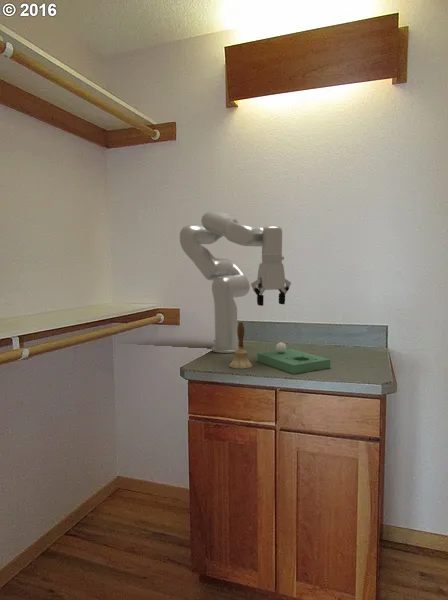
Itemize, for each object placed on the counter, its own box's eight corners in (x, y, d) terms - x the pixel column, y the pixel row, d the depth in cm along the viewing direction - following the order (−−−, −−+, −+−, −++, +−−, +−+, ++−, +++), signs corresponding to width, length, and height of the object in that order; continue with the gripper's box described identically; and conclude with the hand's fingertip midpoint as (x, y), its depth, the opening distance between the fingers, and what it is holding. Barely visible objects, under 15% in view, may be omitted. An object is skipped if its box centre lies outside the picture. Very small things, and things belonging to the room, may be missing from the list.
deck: (257, 361, 164) (257, 353, 163) (291, 356, 171) (291, 348, 171) (293, 374, 144) (293, 365, 144) (330, 367, 152) (330, 359, 152)
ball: (273, 352, 164) (273, 342, 164) (282, 351, 166) (282, 341, 166) (279, 354, 161) (279, 343, 161) (288, 353, 163) (288, 342, 162)
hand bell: (256, 364, 158) (255, 321, 157) (245, 369, 151) (245, 324, 150) (236, 362, 162) (235, 320, 161) (225, 367, 155) (224, 323, 154)
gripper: (284, 259, 171) (284, 302, 173) (246, 259, 163) (246, 304, 165) (296, 259, 165) (295, 304, 167) (257, 259, 157) (257, 307, 159)
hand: (271, 304), depth 166 cm, fingers open, 9 cm apart
